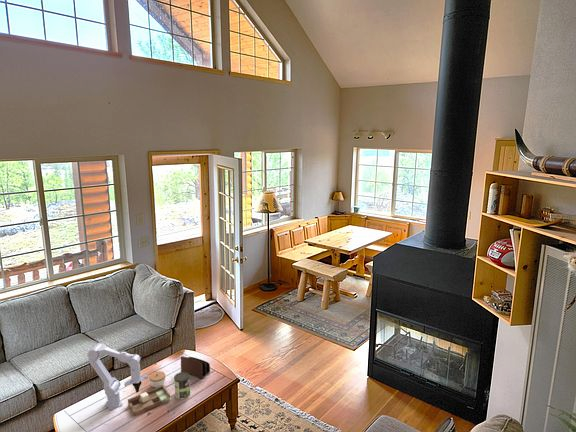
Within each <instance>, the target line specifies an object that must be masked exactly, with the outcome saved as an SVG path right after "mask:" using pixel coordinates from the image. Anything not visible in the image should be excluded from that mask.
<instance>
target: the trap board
mask: <svg viewBox="0 0 576 432" xmlns="http://www.w3.org/2000/svg"><path fill="white" fill-rule="evenodd" d="M165 387H166V386H164V385H162V386H160V387H158V388H153V389H151V390H148V391H145V392H146V393H147V394H148V395H149V400H148V401H146V402H144V403H143V402H142V401H141V400H140V394H138V395H136V396H134V397H131V398H129V399H127V404H128V405H127V406H128V407H129V409H130V411H131V413H132V415H133V416H137V415H139V414H141V413H145V412H146V411H149V410H151V409H154V408H156V407H158V406H160V405H162V404H165V403H167V402H169V401H171V394H170V393H169V391H168V390H167V389H166V388H165ZM155 401H156V402H155Z"/></svg>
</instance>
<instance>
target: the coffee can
mask: <svg viewBox="0 0 576 432" xmlns="http://www.w3.org/2000/svg"><path fill="white" fill-rule="evenodd" d="M190 376H191V375H189V373H187V372H181V371H180V372H178V373H176V374H174V377H173V380H174V381H173V383H174V397H175V399H178V400H184V399H187V398H189V396H190V395H191V382H190V378H191V377H190Z"/></svg>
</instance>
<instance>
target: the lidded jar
mask: <svg viewBox="0 0 576 432" xmlns="http://www.w3.org/2000/svg"><path fill="white" fill-rule="evenodd" d="M148 379H149V384H150V385H151V386H152V387H153V389H155V388H158V387H160V386H164V384H165V381H166V373H165V372H164V371H161V370H160V371H155V372H152V373H151V374H150V375H149V376H148Z"/></svg>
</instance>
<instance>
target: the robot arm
mask: <svg viewBox="0 0 576 432" xmlns="http://www.w3.org/2000/svg"><path fill="white" fill-rule="evenodd" d="M105 355H106V356H109V357H113V358H117V360H118V361H120V362H122V363H125V364H128V366H129V367H130V376H131V377H130V379H129V380H126V381H124V383H123V385H124V387H127V386H130V385H132V386H133V387H134V390H135V392H136V393H140V388H141V385H142V381H143V380H147V379H149V376H148V374H144V375H142V374H141V365H140V363H141V359H142V357H141V356H140V355H139V354H138V353H134V354H131V353H128V352H126V351H118V350H116V349H114V348H110V347H108V346H107V344H106V343H102V342H96V343H95V344H94V346H93V347H92V348H91V349H90V350H88V353H87V355H86V356H87V358H88V361H89V363H90V365H91V366H92V368H93V369H94V371H95V372H96V374H97V376H98V377H99V378H100V380H101V381H102V383H103V390H104V393H105V395H106V401H105V403H106V406H107V408H108V410H109V411H111V410H114V409H116V408H119V407H122V406H123V402H122V401H121V396H120V387H121V382H120V380H118V379H117V378H116V377H112V376H111V374H110V372H109V371H108V369H107V367H105V365H104V364H103V362H102V361H101V359H100V358H101V357H103V356H105Z"/></svg>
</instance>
